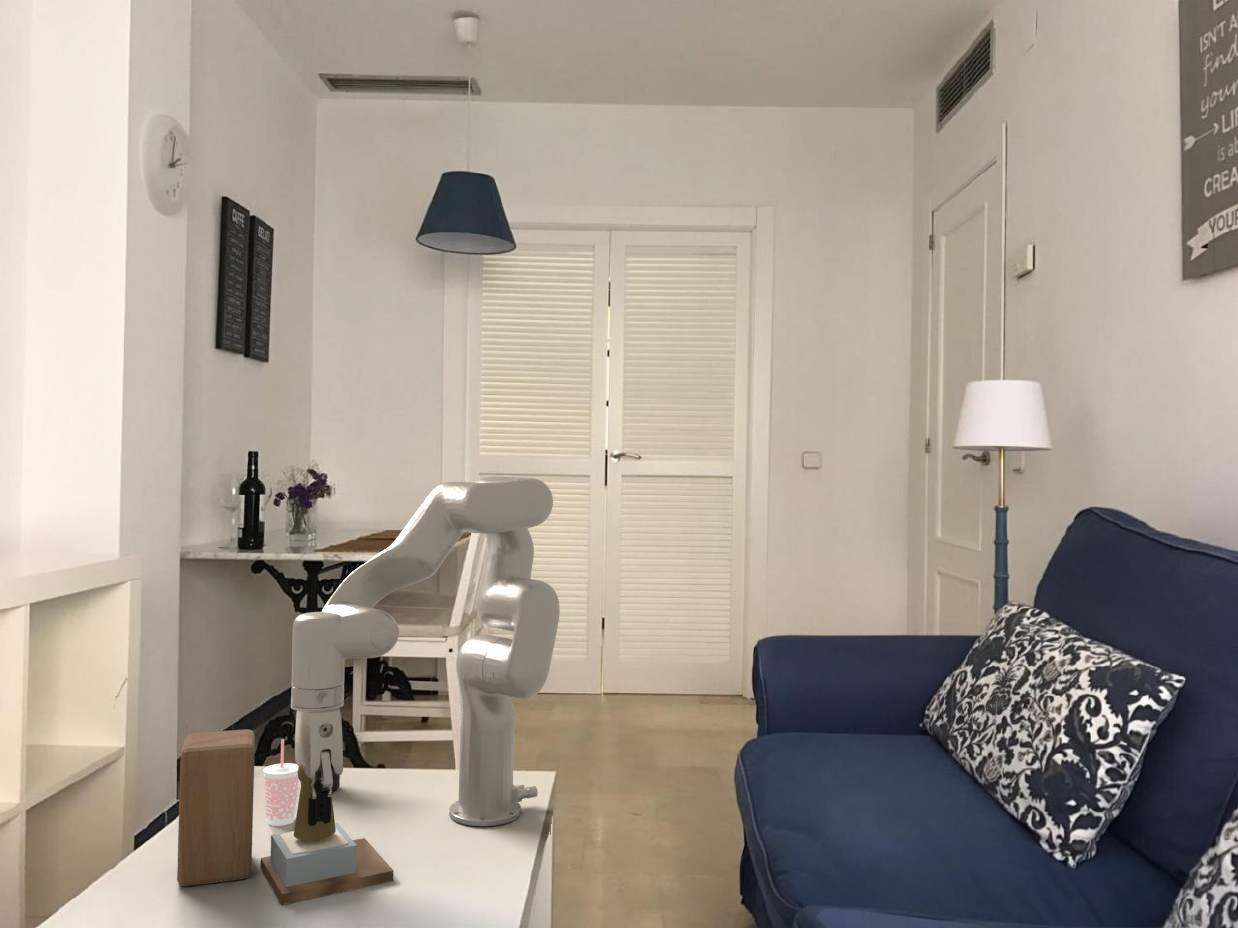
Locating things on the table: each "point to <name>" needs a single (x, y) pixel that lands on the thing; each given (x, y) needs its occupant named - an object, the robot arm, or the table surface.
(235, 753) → the block
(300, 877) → the slate plinth
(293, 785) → the beverage cup
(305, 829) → the olive pawn
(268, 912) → the table surface
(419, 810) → the table surface
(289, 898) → the brown board
